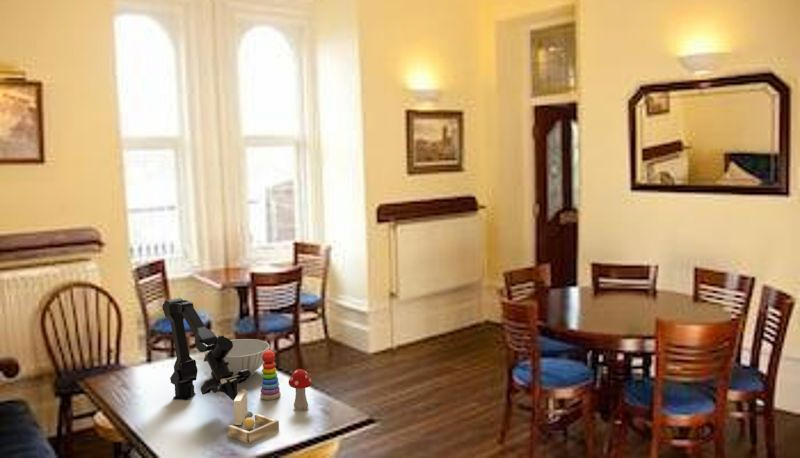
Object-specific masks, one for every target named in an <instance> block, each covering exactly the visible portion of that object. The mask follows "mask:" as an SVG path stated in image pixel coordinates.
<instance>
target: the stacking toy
mask: <svg viewBox="0 0 800 458" xmlns="http://www.w3.org/2000/svg"><path fill="white" fill-rule="evenodd" d="M275 358H276V354H275V352H273V351H272V350H270V349H269V350H268V351H265V352H264V353H263V355H262V359H263V361H264V363H263V364H262V369H261V372H262V373H261V383H260V384H261V385H260V387H261V388H260V396H259V397H260V398H261V399H262V400H266V401H268V400H269V401H270V400H271V401H272V400H276V399H278V398H279V397H280V396H281V390H280V386H279V385H280V382H279V377H278V372H276V371H277V368H276V362H274V361H275V360H276V359H275Z"/></svg>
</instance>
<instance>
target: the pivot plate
mask: <svg viewBox="0 0 800 458" xmlns="http://www.w3.org/2000/svg"><path fill="white" fill-rule="evenodd" d="M252 416H253V412H251V411H248V410H247V415H246V417H245V419H246V418H252ZM245 419H244V420H245Z"/></svg>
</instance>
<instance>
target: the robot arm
mask: <svg viewBox="0 0 800 458" xmlns="http://www.w3.org/2000/svg"><path fill="white" fill-rule="evenodd" d="M161 307H162V308H161V309H162V311H163V313H164V317H165V318H166V320H168V321H169V323H170V327H171V334H172V338H173V345H174V350H175V357H176V359H175V362H174V364H173V370H174V371H173V373H172V374H171V376H170V377H169V380H170V384H172V385H174V395H175V396H173V397H172V399H173V400H185V401H188V400H189V399H191V398H193V397H194V396H195V395H196V393H195V384H194V381H197V376H198V371H199V369H198V367H197V361H196V359H193V358H192V357H191V356H190V351H189V344H188V339H187V334H186V328H185V323H184V322H186V323H187V325H188V327H189V329H190V330H191V332H192V334H193V336H194V343H195V347H196V349H197V351H198V352H199V353H205V354H204V358H203V362H205V363H206V362H207V364H208V365H209V367H210V370H211V372H210V376H211V379H210V378H209V379H207V380H205V381H204V383H202V385H201V387H200V392H201V394H202V395H207V394H210V393H211V392H212V393H213V394H216V393H224V394H225V395H226V396H227V397H228V398H230V400H232V402H234V399H235V398H236V396H237V394H238V385H240V384H243V383H246V382H247V381H248V379H249V378H250V377H252V376H251V372H250V370H248V369H245V370H241V371H239V372H238V374H237V375H236V376H232V375H233V374H234V373H233V371H232V372H230V370H229V368H228V365H229V363H228V362H226V361H225V359H224V358H225V357H226V356H227V354H228V353H229V352H230V350H231V349H232V347H233V343H232V341H231V340H232V339H230V338H228V337H225V336H224V335H223V334H222V335H216V334H215V333H214V331H213V330H211V329H208V328H207V327H206V326H205V324H204V322H203V320H202V319H201V317H200V316H199V314H198V312H197V310H195V307H194V303H193V302H192V301H190V300H188V299H183V298H182V297H178V298H177V297H176V298H172V299H166V300H165V301H164V302H163V304H162V306H161ZM184 320H185V321H184ZM210 350H211V351H210ZM206 351H209V352H208V354H207V352H206Z"/></svg>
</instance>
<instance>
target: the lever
mask: <svg viewBox="0 0 800 458" xmlns="http://www.w3.org/2000/svg"><path fill="white" fill-rule="evenodd" d="M247 392H248V391H247V389H245V388H241V389H239V391H238V392H237V396H236V398H235V399H234V401H233V419H234V421H233V423H234V426H242V425H243V422H244V420H245V417H246V415H247V411H248V397H247V395H248V393H247Z"/></svg>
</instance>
